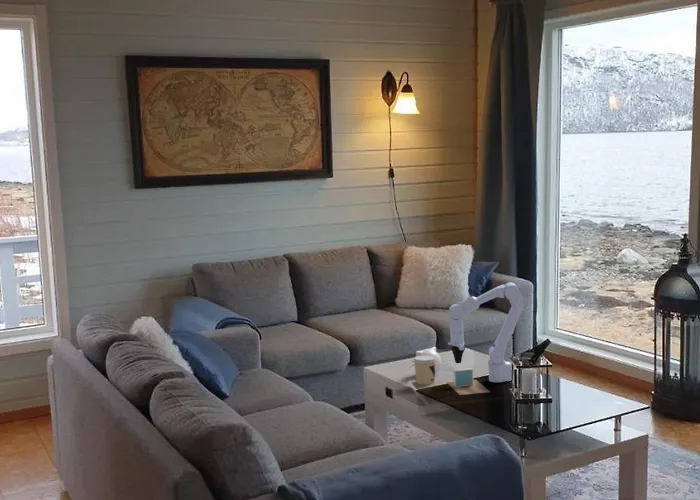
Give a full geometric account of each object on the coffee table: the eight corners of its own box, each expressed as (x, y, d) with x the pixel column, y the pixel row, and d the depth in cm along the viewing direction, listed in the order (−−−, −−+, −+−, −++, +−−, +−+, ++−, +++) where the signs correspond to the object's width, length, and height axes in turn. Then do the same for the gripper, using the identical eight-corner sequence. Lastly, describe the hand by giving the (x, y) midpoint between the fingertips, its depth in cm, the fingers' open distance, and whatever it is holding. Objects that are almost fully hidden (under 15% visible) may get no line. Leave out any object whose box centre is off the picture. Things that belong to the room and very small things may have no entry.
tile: (472, 383, 339) (471, 368, 338) (473, 385, 337) (472, 369, 336) (454, 385, 338) (453, 369, 337) (455, 386, 336) (454, 370, 335)
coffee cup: (435, 387, 341) (434, 360, 339) (413, 387, 343) (412, 360, 341) (437, 381, 350) (436, 355, 349) (416, 381, 352) (415, 355, 350)
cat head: (426, 381, 351) (424, 354, 350) (407, 376, 362) (405, 350, 361) (451, 374, 360) (449, 348, 359) (431, 369, 371) (430, 344, 369)
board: (475, 382, 345) (475, 379, 345) (490, 394, 326) (490, 391, 326) (446, 385, 344) (446, 382, 344) (459, 397, 324) (459, 395, 324)
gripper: (443, 329, 349) (444, 359, 350) (452, 336, 334) (453, 367, 336) (458, 328, 350) (460, 358, 351) (468, 334, 335) (469, 366, 337)
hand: (458, 362), depth 343 cm, fingers closed
